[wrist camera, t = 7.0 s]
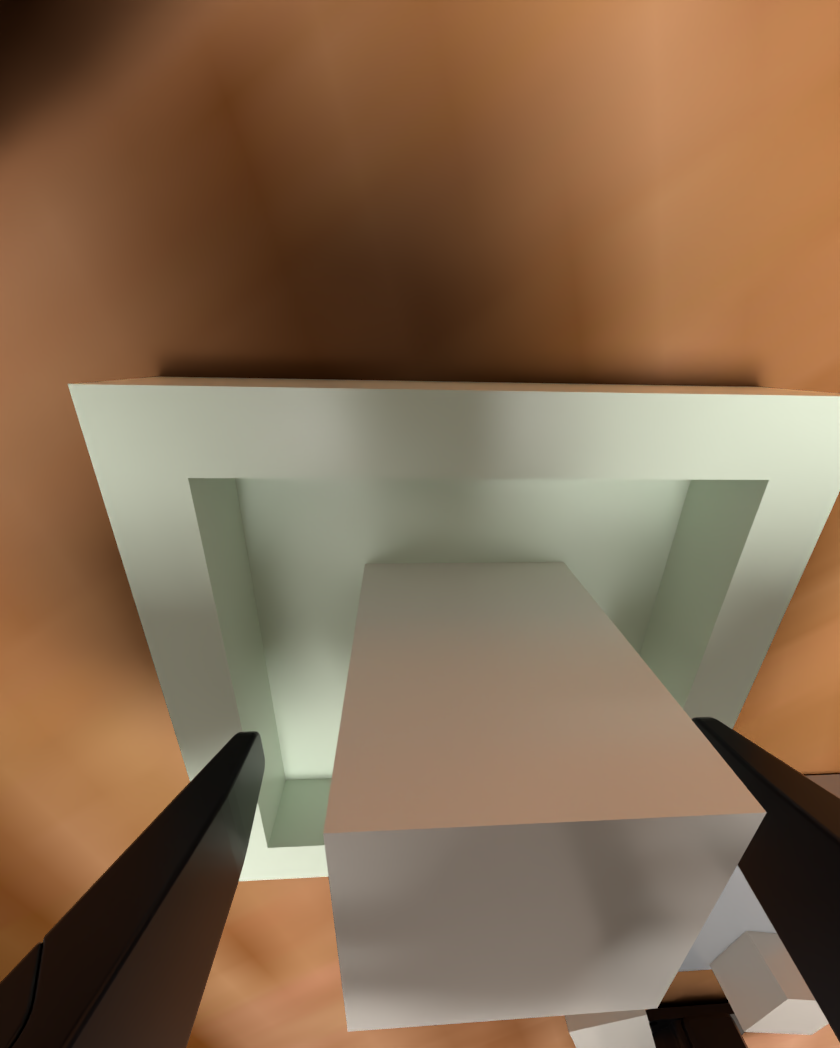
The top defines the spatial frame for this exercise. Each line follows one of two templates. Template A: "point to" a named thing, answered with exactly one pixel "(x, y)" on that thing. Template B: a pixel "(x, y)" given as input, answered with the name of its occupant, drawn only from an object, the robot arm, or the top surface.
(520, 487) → the bin
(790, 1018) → the slate board
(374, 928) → the large white cube
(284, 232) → the top surface
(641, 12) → the top surface
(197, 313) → the top surface
